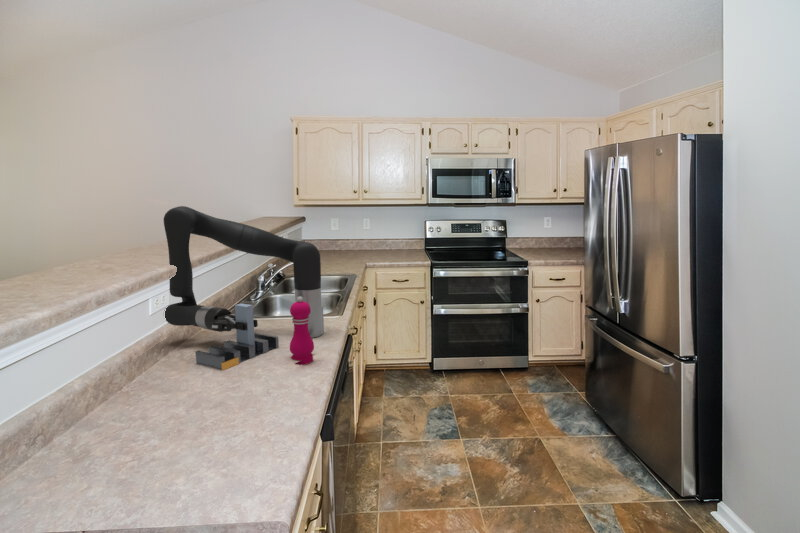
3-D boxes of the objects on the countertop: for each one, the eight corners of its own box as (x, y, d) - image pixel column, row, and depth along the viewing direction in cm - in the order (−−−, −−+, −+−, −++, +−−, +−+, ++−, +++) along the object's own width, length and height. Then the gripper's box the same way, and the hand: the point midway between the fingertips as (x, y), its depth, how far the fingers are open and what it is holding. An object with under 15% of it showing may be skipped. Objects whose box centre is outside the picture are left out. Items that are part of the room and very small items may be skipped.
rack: (254, 346, 151) (253, 332, 150) (279, 351, 145) (279, 336, 144) (196, 368, 132) (195, 351, 131) (223, 375, 126) (222, 358, 125)
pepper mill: (309, 366, 132) (306, 299, 130) (286, 364, 134) (283, 298, 131) (318, 357, 139) (315, 294, 137) (296, 356, 141) (293, 293, 138)
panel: (244, 349, 143) (241, 303, 141) (255, 352, 141) (252, 305, 138) (237, 352, 141) (234, 305, 139) (249, 354, 138) (246, 306, 136)
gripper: (193, 312, 140) (232, 318, 131) (230, 302, 152) (268, 308, 143) (195, 335, 141) (233, 343, 132) (232, 324, 153) (269, 331, 145)
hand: (251, 325), depth 138 cm, fingers open, 3 cm apart
